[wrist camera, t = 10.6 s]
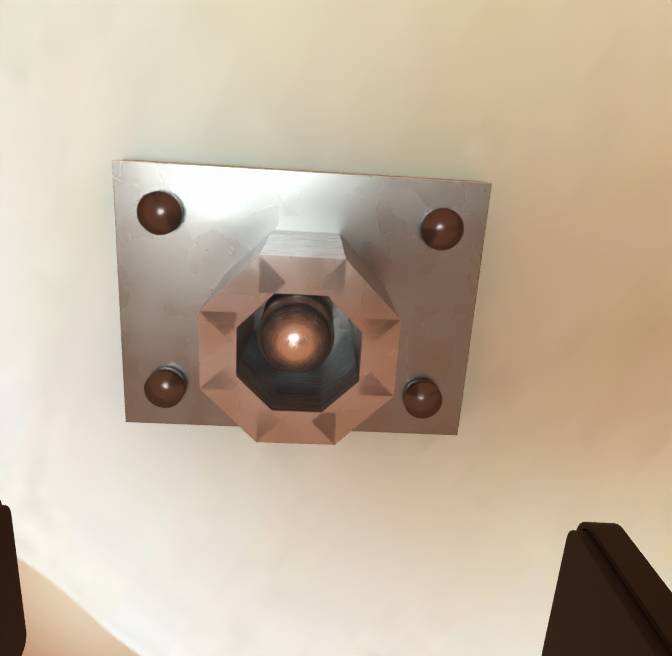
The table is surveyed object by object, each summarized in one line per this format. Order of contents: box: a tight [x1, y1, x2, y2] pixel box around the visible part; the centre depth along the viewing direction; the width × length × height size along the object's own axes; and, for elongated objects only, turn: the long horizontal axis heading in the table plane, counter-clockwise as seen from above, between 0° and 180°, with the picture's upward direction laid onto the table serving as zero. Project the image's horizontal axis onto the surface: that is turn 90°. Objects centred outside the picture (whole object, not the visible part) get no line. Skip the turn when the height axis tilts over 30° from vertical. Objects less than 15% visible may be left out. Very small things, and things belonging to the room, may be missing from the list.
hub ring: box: [199, 230, 401, 445], centre depth 23 cm, size 7×7×6 cm
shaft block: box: [112, 160, 491, 435], centre depth 24 cm, size 16×12×7 cm
